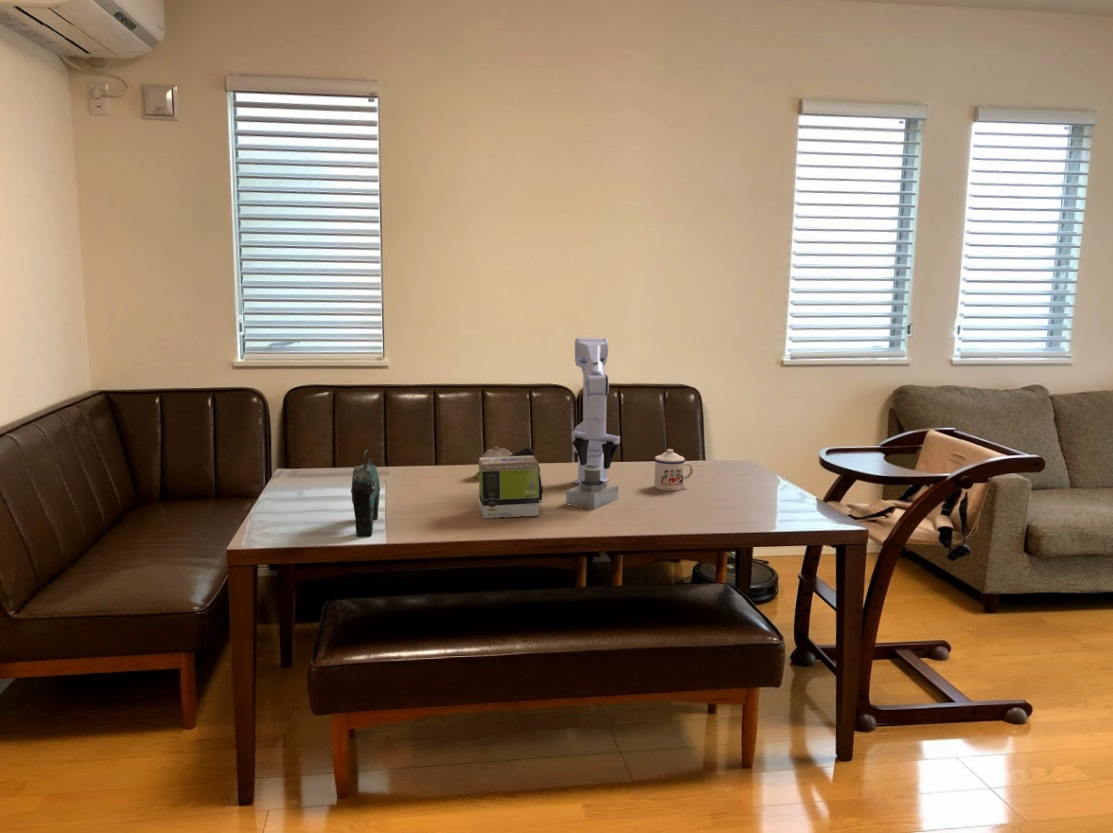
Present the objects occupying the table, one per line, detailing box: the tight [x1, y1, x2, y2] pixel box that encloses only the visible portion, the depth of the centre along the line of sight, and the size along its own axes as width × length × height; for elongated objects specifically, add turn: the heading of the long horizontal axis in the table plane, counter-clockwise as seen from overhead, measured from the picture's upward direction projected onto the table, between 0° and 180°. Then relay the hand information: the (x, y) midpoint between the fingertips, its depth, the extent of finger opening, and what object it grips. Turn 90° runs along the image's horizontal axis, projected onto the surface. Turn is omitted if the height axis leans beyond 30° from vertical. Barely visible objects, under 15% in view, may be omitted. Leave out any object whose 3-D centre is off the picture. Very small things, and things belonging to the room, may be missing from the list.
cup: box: [584, 465, 601, 485], centre depth 243 cm, size 5×5×6 cm
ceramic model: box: [473, 445, 514, 480], centre depth 273 cm, size 14×11×10 cm
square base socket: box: [565, 480, 619, 510], centre depth 244 cm, size 13×9×6 cm
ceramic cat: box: [350, 449, 381, 538], centre depth 216 cm, size 20×6×20 cm, turn 5°
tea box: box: [478, 455, 540, 519], centre depth 231 cm, size 15×10×15 cm
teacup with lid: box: [653, 448, 694, 492], centre depth 261 cm, size 12×9×12 cm
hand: (595, 466), depth 244 cm, fingers open, 7 cm apart
